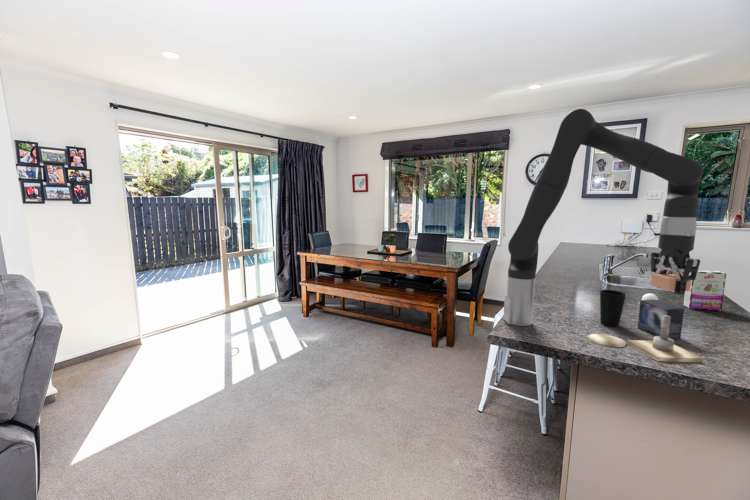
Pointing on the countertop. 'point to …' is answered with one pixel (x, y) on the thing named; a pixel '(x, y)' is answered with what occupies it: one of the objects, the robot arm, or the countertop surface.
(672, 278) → the c link
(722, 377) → the countertop surface
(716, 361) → the countertop surface
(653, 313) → the small box
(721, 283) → the candy bar box
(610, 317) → the cup
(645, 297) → the capsule
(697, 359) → the peg stand
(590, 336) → the coaster
